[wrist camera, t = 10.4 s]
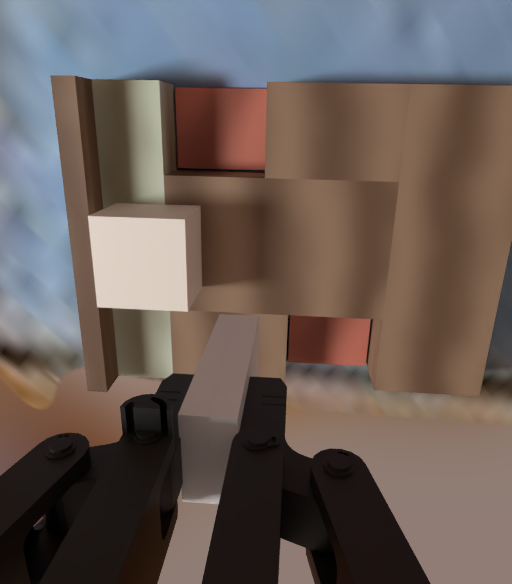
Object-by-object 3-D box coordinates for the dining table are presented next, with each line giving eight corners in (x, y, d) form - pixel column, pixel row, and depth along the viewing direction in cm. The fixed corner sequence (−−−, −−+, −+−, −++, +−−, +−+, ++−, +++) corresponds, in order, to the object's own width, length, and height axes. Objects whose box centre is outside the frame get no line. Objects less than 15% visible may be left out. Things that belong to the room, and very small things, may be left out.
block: (200, 205, 33) (184, 219, 28) (202, 286, 35) (187, 311, 30) (116, 202, 33) (87, 216, 29) (123, 282, 35) (97, 307, 31)
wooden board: (515, 90, 33) (565, 82, 27) (461, 370, 40) (491, 414, 34) (93, 83, 35) (50, 75, 29) (117, 352, 42) (87, 390, 36)
